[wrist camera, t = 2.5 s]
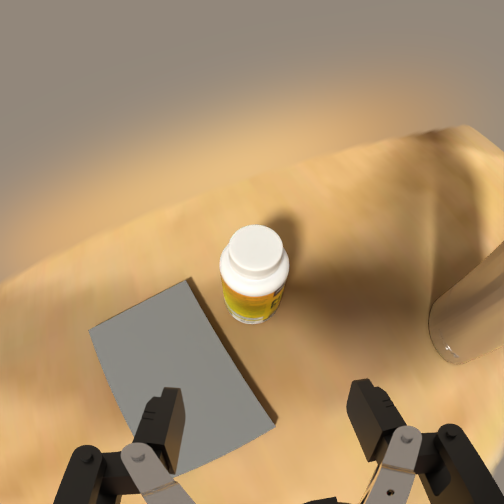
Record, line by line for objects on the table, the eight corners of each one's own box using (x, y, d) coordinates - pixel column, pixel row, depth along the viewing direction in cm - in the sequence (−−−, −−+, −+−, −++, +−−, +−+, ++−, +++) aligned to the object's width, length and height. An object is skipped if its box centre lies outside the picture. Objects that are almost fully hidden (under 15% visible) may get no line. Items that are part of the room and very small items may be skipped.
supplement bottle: (273, 331, 28) (287, 289, 19) (218, 318, 28) (207, 271, 20) (283, 281, 31) (299, 223, 22) (232, 270, 31) (228, 209, 23)
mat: (187, 284, 30) (185, 280, 29) (274, 426, 23) (275, 426, 22) (92, 332, 27) (88, 330, 26) (164, 480, 20) (161, 482, 19)
